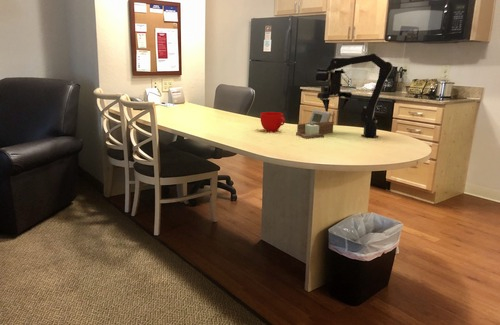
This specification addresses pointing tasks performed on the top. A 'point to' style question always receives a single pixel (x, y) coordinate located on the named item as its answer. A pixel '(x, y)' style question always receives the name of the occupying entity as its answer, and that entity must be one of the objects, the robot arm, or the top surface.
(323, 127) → the wall board
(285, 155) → the top surface
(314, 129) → the cabinet block
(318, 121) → the digital clock
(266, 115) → the ceramic cup
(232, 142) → the top surface
